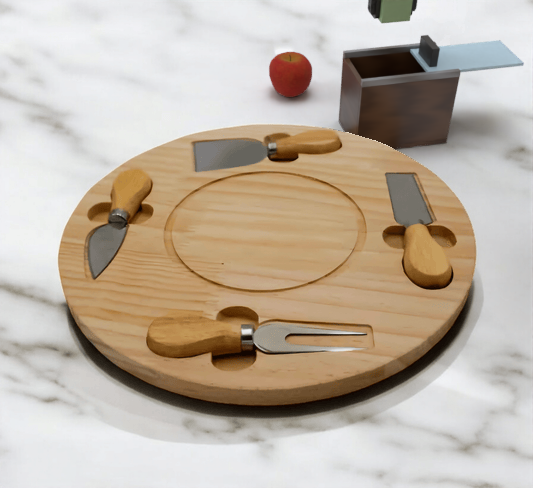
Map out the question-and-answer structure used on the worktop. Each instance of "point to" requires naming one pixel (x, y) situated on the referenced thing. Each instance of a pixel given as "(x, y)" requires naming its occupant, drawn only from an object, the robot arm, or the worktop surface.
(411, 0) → the block
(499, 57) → the pane
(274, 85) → the apple
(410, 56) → the case
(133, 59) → the worktop surface
